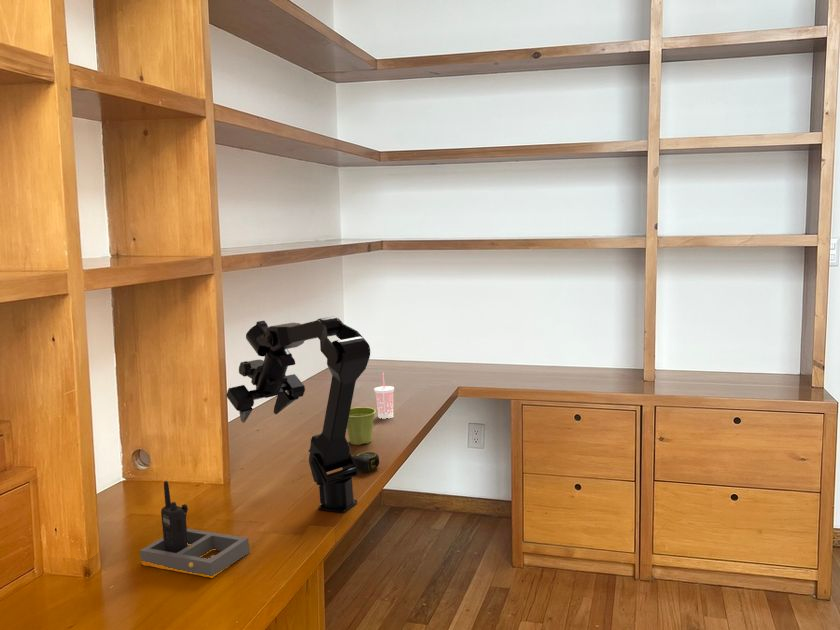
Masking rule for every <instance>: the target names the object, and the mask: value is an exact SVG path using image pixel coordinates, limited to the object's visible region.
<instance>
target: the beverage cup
mask: <svg viewBox="0 0 840 630" xmlns="http://www.w3.org/2000/svg"><path fill="white" fill-rule="evenodd" d="M385 382H386V381H385V372H384V371H383V372H382V385H381V386H377V387H374V388H373V390H374V393H375V399H376V406H377V407H376V408H377V414H378V419H381V418H382V420H387V419H386V418H388V419H392V418H394V391H395V387H394V386H393V385H392V386H391V385H386V383H385Z"/></svg>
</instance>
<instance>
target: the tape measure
mask: <svg viewBox="0 0 840 630" xmlns="http://www.w3.org/2000/svg"><path fill="white" fill-rule="evenodd" d="M352 457H353V459H354V461H355V462H356V464H357V466H358V468H359V471H360V472H366V473H369V472H370V471H373V470H375V469H377V468H378V467H379V465H380V457H379V455H378V453H377V452H375V451H370V450H369V451H366V450H365V451H360V452H356V453H355V454H354V455H352Z"/></svg>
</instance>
